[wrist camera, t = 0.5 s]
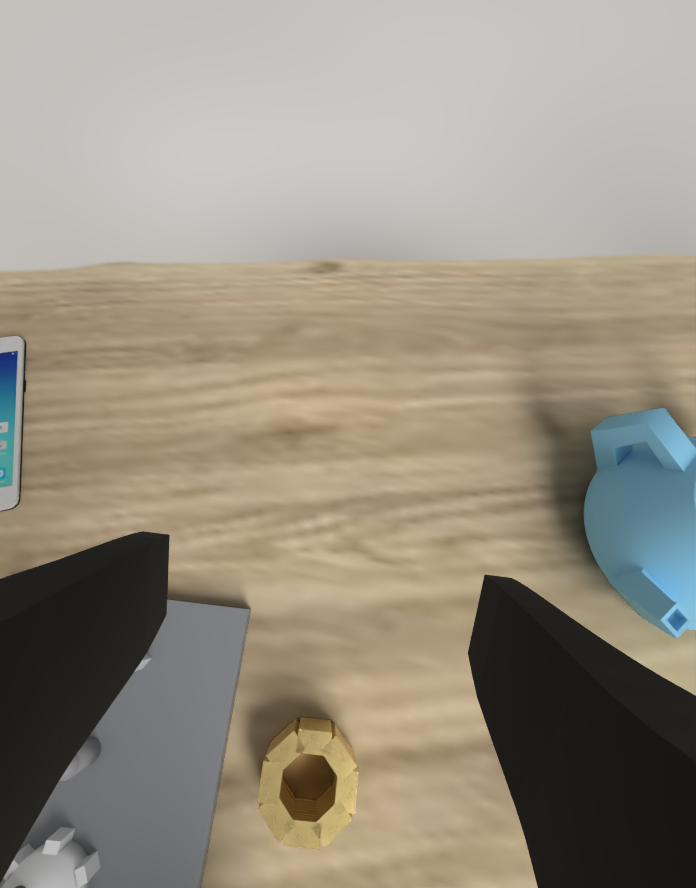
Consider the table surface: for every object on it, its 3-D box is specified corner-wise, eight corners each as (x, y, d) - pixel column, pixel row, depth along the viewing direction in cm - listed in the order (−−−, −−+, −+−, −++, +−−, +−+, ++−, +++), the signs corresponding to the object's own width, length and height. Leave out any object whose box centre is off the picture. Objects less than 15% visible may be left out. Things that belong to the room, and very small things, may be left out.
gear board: (190, 946, 25) (164, 1016, 21) (-95, 916, 25) (-181, 980, 20) (250, 609, 31) (240, 610, 27) (24, 581, 31) (-23, 578, 27)
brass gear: (348, 827, 27) (351, 853, 24) (258, 817, 27) (251, 842, 24) (357, 723, 29) (361, 736, 26) (273, 713, 29) (268, 725, 26)
